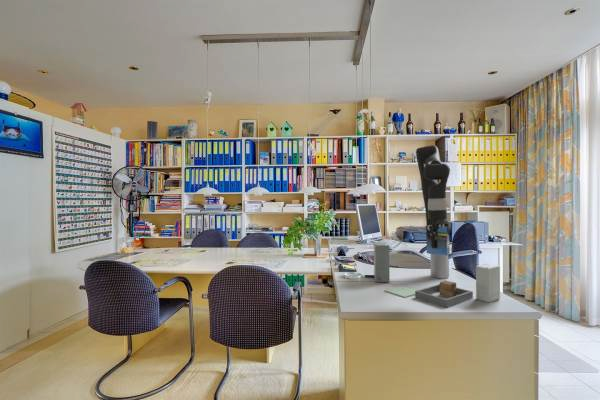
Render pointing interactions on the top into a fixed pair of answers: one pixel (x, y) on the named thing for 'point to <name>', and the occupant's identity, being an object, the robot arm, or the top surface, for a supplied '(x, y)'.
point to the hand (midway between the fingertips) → (437, 247)
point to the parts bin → (461, 297)
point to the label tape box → (439, 243)
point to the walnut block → (448, 289)
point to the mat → (401, 291)
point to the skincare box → (488, 282)
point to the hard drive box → (381, 262)
